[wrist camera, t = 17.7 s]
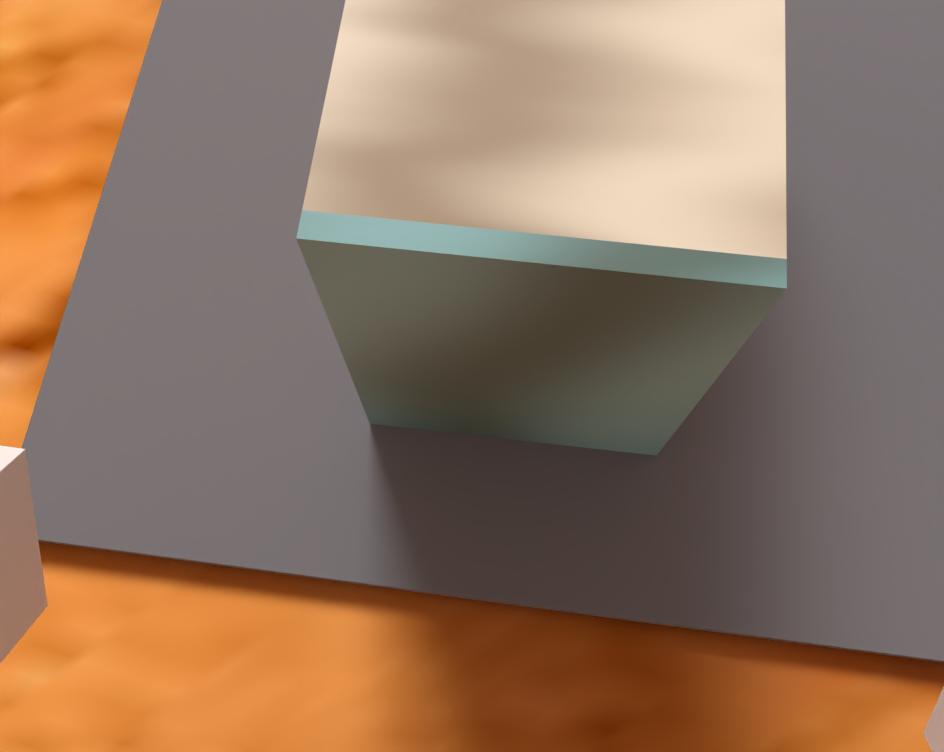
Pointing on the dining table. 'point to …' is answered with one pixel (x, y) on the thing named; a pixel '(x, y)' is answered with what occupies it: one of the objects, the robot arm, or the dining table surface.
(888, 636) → the mat
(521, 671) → the dining table surface
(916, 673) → the dining table surface
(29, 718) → the dining table surface
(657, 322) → the block
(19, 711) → the dining table surface
